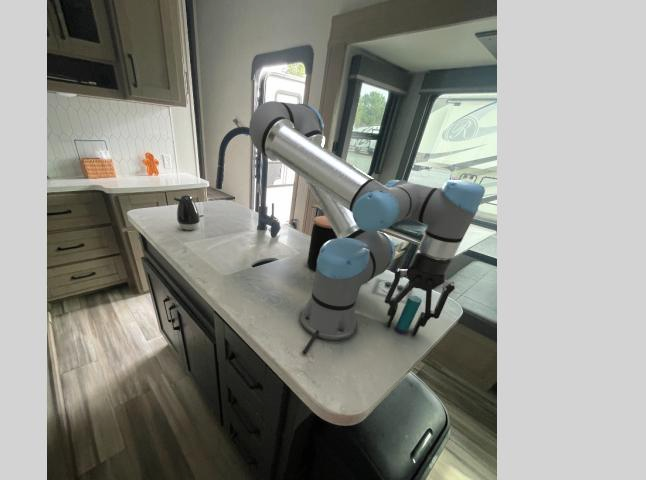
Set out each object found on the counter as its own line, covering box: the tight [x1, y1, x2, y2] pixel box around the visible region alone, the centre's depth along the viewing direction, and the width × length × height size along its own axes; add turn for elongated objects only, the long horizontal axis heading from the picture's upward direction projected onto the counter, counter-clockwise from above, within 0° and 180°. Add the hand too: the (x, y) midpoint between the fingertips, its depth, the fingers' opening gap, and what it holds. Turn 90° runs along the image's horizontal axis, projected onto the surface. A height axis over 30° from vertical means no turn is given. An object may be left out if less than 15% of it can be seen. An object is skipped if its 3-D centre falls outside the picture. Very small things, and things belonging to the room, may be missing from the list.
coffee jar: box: [307, 215, 337, 271], centre depth 99 cm, size 11×11×18 cm
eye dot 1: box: [384, 282, 392, 288], centre depth 92 cm, size 2×2×1 cm
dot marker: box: [395, 294, 423, 335], centre depth 72 cm, size 3×3×11 cm
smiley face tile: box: [378, 280, 405, 297], centre depth 92 cm, size 10×11×1 cm
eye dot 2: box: [396, 285, 405, 291], centre depth 91 cm, size 2×2×1 cm
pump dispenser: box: [173, 194, 201, 231], centre depth 124 cm, size 10×10×15 cm
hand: (401, 328), depth 75 cm, fingers open, 6 cm apart
